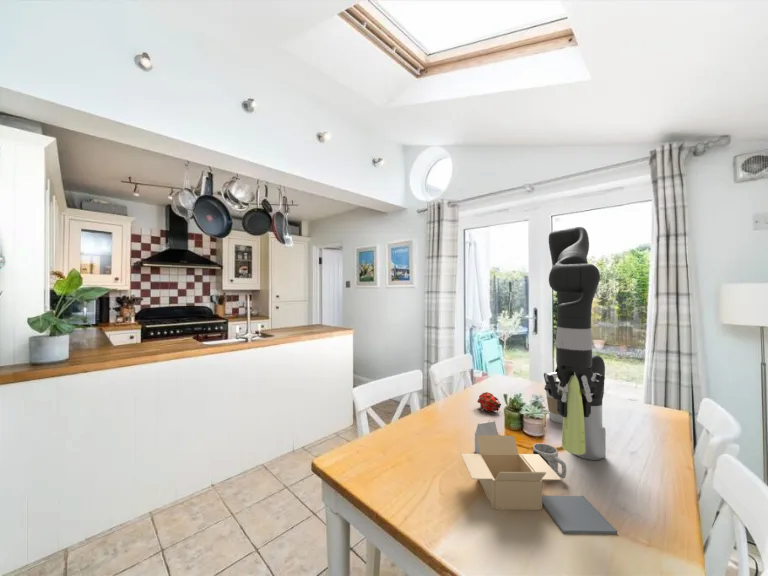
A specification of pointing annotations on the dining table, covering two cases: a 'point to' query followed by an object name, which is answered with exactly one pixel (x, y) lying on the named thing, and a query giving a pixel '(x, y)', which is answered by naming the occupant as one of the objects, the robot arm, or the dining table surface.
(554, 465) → the mug
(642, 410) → the dining table surface
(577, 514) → the mat
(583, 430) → the light green tall cone
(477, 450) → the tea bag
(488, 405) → the dragon fruit
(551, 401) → the coffee cup
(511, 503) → the carton
